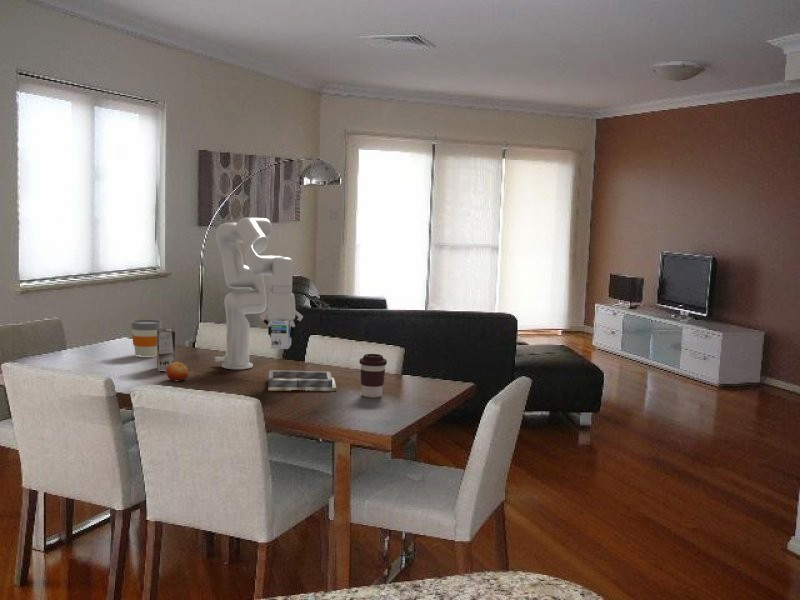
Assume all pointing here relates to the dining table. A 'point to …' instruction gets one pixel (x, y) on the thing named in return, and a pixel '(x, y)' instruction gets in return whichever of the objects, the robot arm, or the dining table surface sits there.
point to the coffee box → (165, 348)
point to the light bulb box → (280, 334)
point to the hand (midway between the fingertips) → (281, 336)
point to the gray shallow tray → (301, 380)
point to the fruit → (177, 371)
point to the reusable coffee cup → (145, 336)
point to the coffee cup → (372, 374)
